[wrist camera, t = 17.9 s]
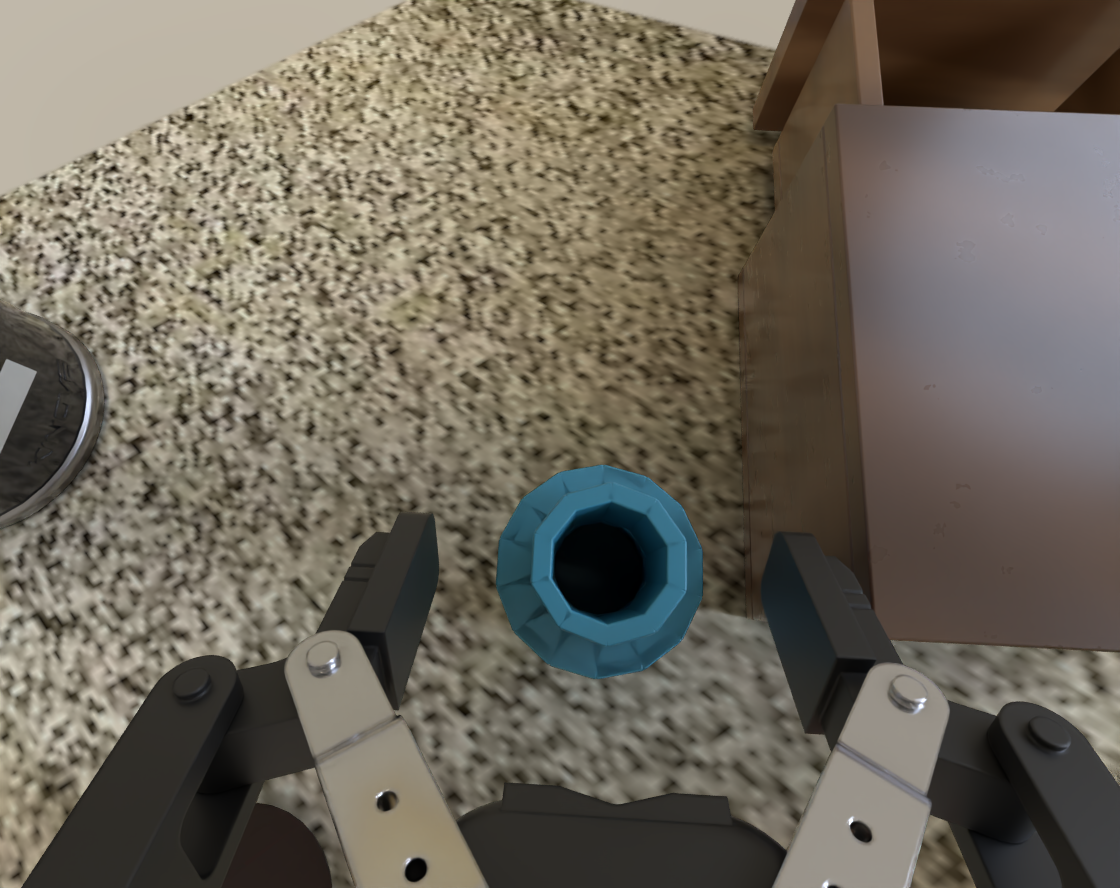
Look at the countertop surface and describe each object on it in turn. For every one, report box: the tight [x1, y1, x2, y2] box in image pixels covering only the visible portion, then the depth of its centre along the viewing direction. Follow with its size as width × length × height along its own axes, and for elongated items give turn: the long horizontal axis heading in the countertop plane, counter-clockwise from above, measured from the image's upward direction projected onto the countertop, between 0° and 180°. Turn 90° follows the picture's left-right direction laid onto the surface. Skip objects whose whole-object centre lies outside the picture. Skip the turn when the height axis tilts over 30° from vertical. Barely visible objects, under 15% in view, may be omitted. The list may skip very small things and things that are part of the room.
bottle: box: [496, 465, 703, 679], centre depth 17 cm, size 5×5×12 cm
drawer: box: [753, 0, 1120, 210], centre depth 22 cm, size 18×12×8 cm
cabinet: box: [738, 104, 1120, 652], centre depth 19 cm, size 15×14×10 cm
